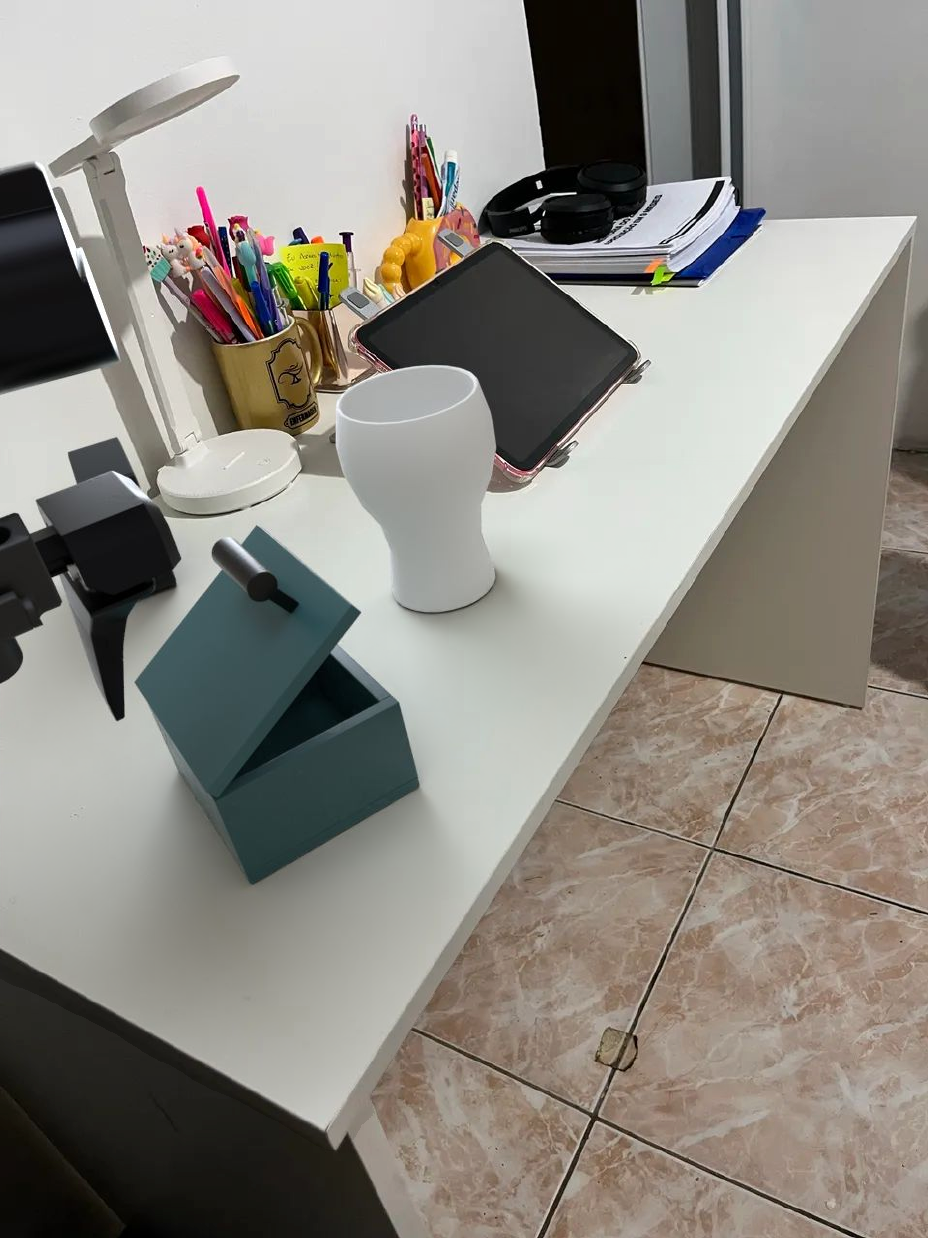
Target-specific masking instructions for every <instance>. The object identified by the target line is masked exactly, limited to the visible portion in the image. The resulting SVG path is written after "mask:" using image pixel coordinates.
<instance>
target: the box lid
mask: <svg viewBox="0 0 928 1238" xmlns="http://www.w3.org/2000/svg"><path fill="white" fill-rule="evenodd" d="M211 558H212V560H213V562H214V563H215V564H216V565H217V567H219V568H220V569H221V570H220V571H219V572H218V574H217V575H216V576H215V577H214V578H213V580H212V582H211V583H209V585H208V587H207V588H206V589H205V590H204V592H203V593H202V595H200V597H199V598H198V600H197V601H196V602H195V603H194V604H193V606H192V607H191V608H190V609H189V611H188V612H187V613H186V615H185V616H184V617H183V619H182V620H181V621H180V622H179V624H178V625H177V627H176V628H175V629H174V630H173V631H172V633H171V634H170V635H169V636H168V638H167V639H166V641H165V642H164V643H163V644H162V645H161V647H160V648H159V649H158V651H157V652H156V653H155V655H153V657H152V658H151V660H150V661H149V662H148V663H147V664H146V665H145V668H144V669H143V670H142V671H141V672H140V674H139V675H138V676H137V678H136V679H135V680H134V684H135V686H136V687H137V689H138V691H139V692H140V693H141V695H142V697H143V698H144V700H145V701H146V703H147V705H148V704H149V705H148V707H149V706H150V707H151V709H152V710H153V712H154V713H155V715H156V716H157V718H158V720H159V721H160V723H161V724H162V726H163V727H164V729H165V730H166V732H167V733H168V735H169V736H170V738H171V739H172V741H173V743H174V744H175V746H176V747H177V749H178V750H179V752H180V753H181V755H182V756H183V758H184V759H185V761H186V762H187V764H188V766H189V767H190V769H191V770H192V772H193V773H194V775H195V776H196V778H197V779H198V781H199V782H200V784H201V785H202V787H203V789H204V790H205V792H206V793H208V794H210V795H213V796H215V797H219V796H220V795H221V793H222V792H223V791H224V789H225V788H226V787H227V786H228V784H229V783H230V782H231V780H232V779H233V778H234V777H235V775H236V774H237V773H238V771H239V770H240V769H241V768H242V766H243V765H244V764H245V762H246V761H247V760H248V758H249V757H250V756H251V755H252V753H253V752H254V751H255V749H256V748H257V747H258V746H259V744H260V743H261V742H262V740H263V739H264V738H265V737H266V735H267V734H268V733H269V731H270V730H271V729H272V728H273V726H274V725H275V724H276V722H277V721H278V720H279V718H280V717H281V716H282V715H283V713H284V712H285V711H286V709H287V708H288V707H289V706H290V704H291V703H292V702H293V700H294V699H295V698H296V697H297V695H298V694H299V693H300V691H301V690H302V689H303V688H304V686H305V685H306V684H307V682H308V681H309V680H310V678H311V677H312V676H313V675H314V673H315V672H316V671H317V669H318V668H319V667H320V666H321V664H322V663H323V662H324V660H325V659H326V658H327V657H328V655H329V654H330V653H331V651H332V650H333V649H334V648H335V646H336V645H337V644H338V645H339V643H340V641H341V640H342V639H343V637H344V636H345V635H346V633H348V631H349V630H350V629H351V627H352V626H353V625H354V623H355V622H356V620H357V619H359V617H360V615H361V614H362V611H361V610H360V609H359V608H357V607H356V605H354V604H353V603H352V602H350V600H348V599H347V598H346V597H344V596H343V595H342V594H341V593H340V592H339V591H338V590H337V589H335V587H333V586H332V585H331V584H330V583H328V582H327V581H326V580H325V579H323V578H322V577H321V576H320V575H319V574H318V573H317V572H316V571H314V570H313V569H312V568H311V567H309V566H308V565H307V564H306V563H305V562H304V561H303V560H301V559H300V558H299V557H298V556H297V555H296V554H294V553H293V552H292V551H291V550H289V548H287V546H285V545H284V544H283V543H282V542H280V541H279V540H278V539H277V538H276V537H275V536H274V535H272V534H271V533H270V532H269V531H268V530H267V529H265V528H263V527H262V526H261V525H259V524H255V526H254V528H253V529H252V530H251V531H250V533H248V535H247V537H246V538H245V539H244V540H243V542H242V543H240V542H239V541H238V540H236V539H235V538H233V537H222V538H220V539H218V540H216V542H215V543H214V544H213V546H212V548H211ZM150 707H149V708H150Z"/></svg>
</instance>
